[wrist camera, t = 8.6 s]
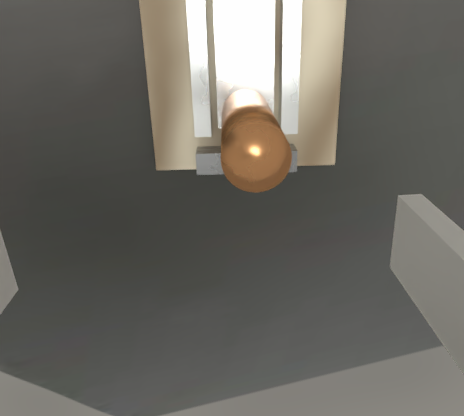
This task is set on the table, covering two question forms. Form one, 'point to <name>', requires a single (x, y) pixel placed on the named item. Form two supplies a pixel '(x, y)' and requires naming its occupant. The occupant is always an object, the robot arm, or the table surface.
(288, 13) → the rails
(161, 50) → the board
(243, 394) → the table surface
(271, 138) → the ram
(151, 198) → the table surface
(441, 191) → the table surface
